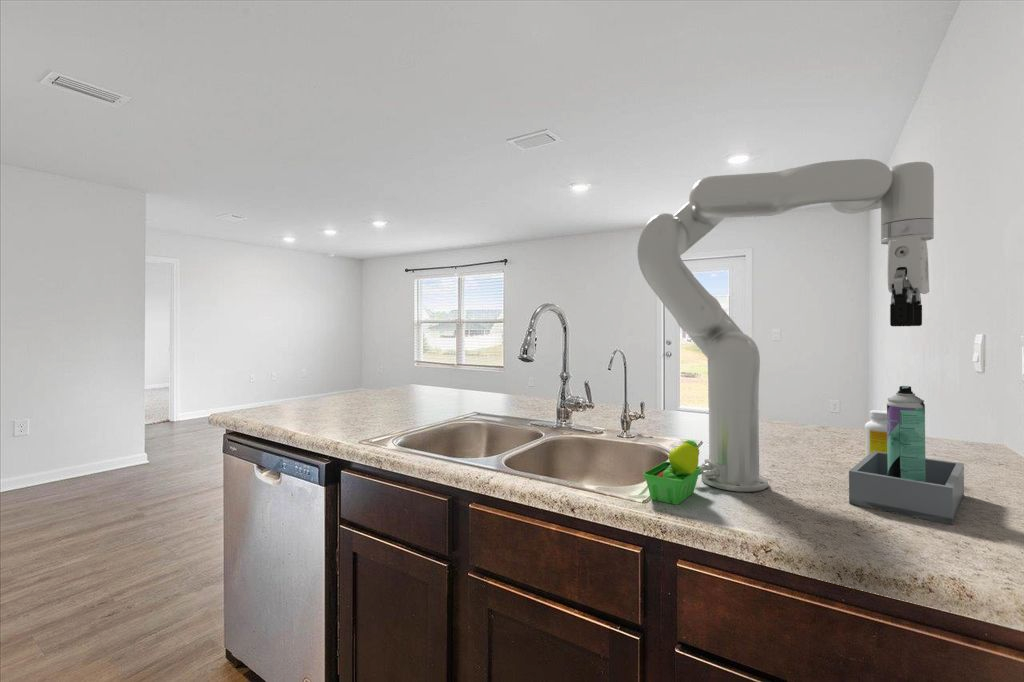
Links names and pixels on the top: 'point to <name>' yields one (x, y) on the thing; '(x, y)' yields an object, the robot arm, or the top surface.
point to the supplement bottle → (876, 432)
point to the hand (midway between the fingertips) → (906, 326)
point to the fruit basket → (675, 475)
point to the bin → (908, 489)
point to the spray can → (906, 435)
